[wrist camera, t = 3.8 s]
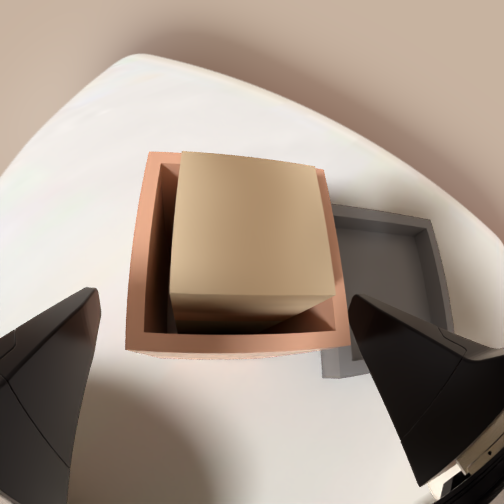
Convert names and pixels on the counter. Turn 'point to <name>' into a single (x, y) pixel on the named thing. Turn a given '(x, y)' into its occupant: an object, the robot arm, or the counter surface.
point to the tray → (387, 274)
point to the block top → (247, 240)
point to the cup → (158, 287)
